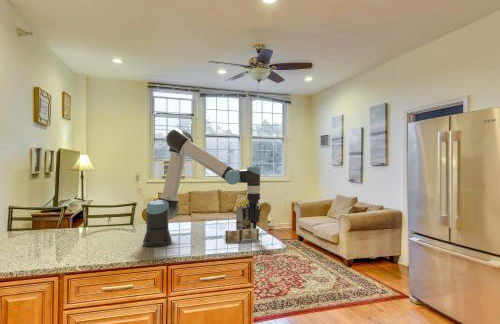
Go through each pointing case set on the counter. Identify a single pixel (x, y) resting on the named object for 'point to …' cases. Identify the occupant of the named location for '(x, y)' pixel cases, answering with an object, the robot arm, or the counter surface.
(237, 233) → the fence fixed section
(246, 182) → the robot arm
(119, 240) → the counter surface
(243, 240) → the card
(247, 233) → the fence gate
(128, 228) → the counter surface
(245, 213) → the coffee box
